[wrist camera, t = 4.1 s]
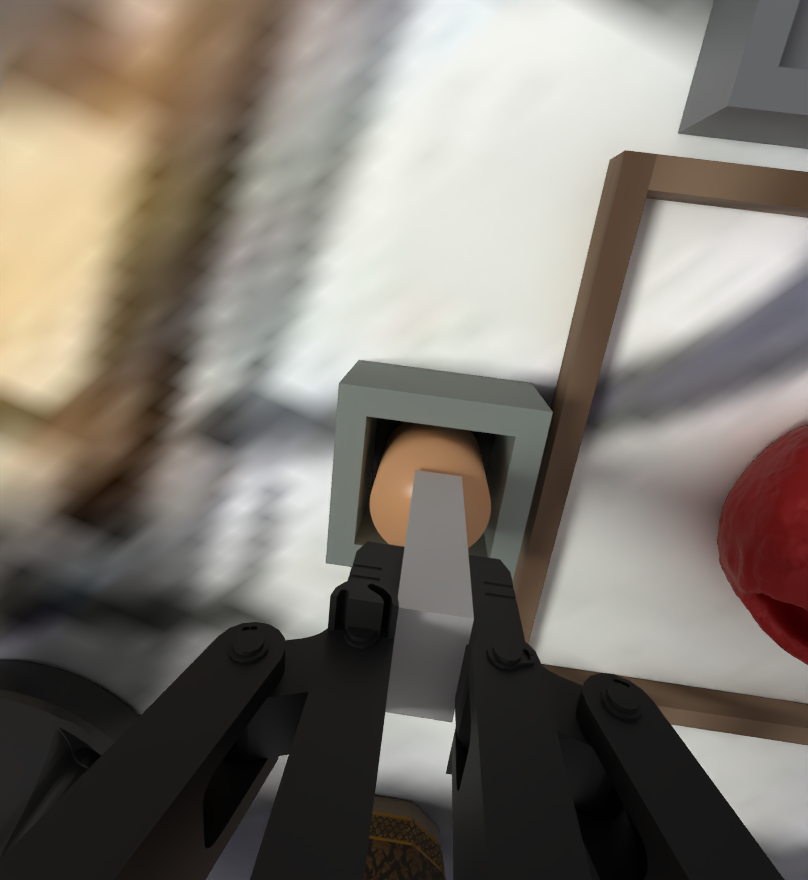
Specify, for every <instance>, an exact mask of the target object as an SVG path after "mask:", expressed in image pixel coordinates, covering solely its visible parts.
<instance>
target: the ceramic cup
mask: <svg viewBox="0 0 808 880" xmlns="http://www.w3.org/2000/svg"><path fill="white" fill-rule="evenodd" d="M364 880H446V878H445V871H444V863H443V855H442V849H441V840H440V832H439V830H438V827H437V826H436V825H435V824H434V823H433V822H432V821H431V820H430V819H429V818H428V817H427V816H426V815H425V814H424V813H423V812H422V811H421V810H420V809H419V808H418V807H417V806H416V805H415V804H414V803H412V802H410V801H405V800H399V799H393V798H387V797H381V796H374V804H373V812H372V820H371V828H370V836H369V844H368V851H367V859H366V867H365V875H364Z"/></svg>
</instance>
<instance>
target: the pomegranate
mask: <svg viewBox="0 0 808 880" xmlns="http://www.w3.org/2000/svg"><path fill="white" fill-rule="evenodd" d="M717 544H718V550H719V561H720V564H721V566H722V569H723V571H724V573H725V575H726V577H727V580H728V582H729V583H730V584H731V586H732V588H733V590H734V592H735V594H736V595H737V596H738V597H739V598H740V600H741V601H742V603H743V604H744V605H745V606H746V608H747V609H748V610H749V612H750V613H751V615H752V616H753V618H754V619H755V621H756V622H757V623H758V625H759V626H760V627H761V629H762V630H763V631H764V632H765V633H766V634H767V635H768V636H769V637H770V638H772V639H773V640H774V641H775V642H776V643H777V644H778V645H779V646H780V647H781V648H783V649H784V650H785V651H786V652H788V653H789V654H791V655H792V656H794V657H796V658H797V659H799V660H801V661H802V662H804V663H805V664H807V665H808V425H806V426H802V427H800V428H798V429H796V430H793V431H791V432H789V433H788V434H786V435H785V436H783V437H781V438H779V439H778V441H777V442H775V443H773V444H772V445H770V446H769V447H767V448H766V449H765V450H764V451H763V452H762V453H761V454H760V455H759V456H758V457H757V458H756V459H755V460H754V461H753V462H752V463H751V465H750V466H749V467H748V468H747V469H746V470H745V471H744V473H743V474H742V475H741V477H740V478H739V479H738V481H737V482H736V484H735V486H734V487H733V488H732V490H731V491H730V492H729V494H728V496H727V499H726V501H725V504H724V506H723V508H722V513H721V517H720V521H719V531H718V537H717Z"/></svg>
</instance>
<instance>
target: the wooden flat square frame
mask: <svg viewBox="0 0 808 880" xmlns="http://www.w3.org/2000/svg"><path fill="white" fill-rule="evenodd" d="M646 198H652V199H661V200H669V201H677V202H685V203H694V204H702V205H710V206H718V207H727V208H735V209H743V210H751V211H759V212H768V213H776V214H784V215H792V216H801V217H808V172H802V171H794V170H785V169H777V168H769V167H760V166H752V165H743V164H735V163H727V162H718V161H710V160H701V159H693V158H685V157H676V156H668V155H659V154H651V153H642V152H634V151H626V150H625V151H624V152H622V153H620V154H619V155H617V156H616V157H614V158H612V159H611V160H610V161H609V166H608V170H607V174H606V178H605V183H604V187H603V191H602V195H601V200H600V204H599V208H598V212H597V217H596V221H595V225H594V229H593V234H592V238H591V242H590V246H589V251H588V255H587V259H586V263H585V268H584V272H583V276H582V280H581V285H580V289H579V293H578V297H577V302H576V306H575V310H574V314H573V318H572V323H571V327H570V331H569V335H568V340H567V344H566V348H565V352H564V357H563V361H562V365H561V369H560V374H559V378H558V382H557V386H556V391H555V395H554V399H553V403H552V408H551V410H552V412H553V414H552V418H551V422H550V426H549V430H548V435H547V439H546V443H545V447H544V452H543V456H542V460H541V464H540V468H539V473H538V477H537V481H536V485H535V489H534V494H533V498H532V502H531V506H530V511H529V515H528V519H527V523H526V527H525V532H524V536H523V540H522V544H521V548H520V553H519V557H518V561H517V565H516V570H515V574H514V578H513V588H514V591H515V595H516V600H517V605H518V609H519V614H520V619H521V623H522V628H523V633H524V637H525V642H527V644H528V641H529V637H530V634H531V630H532V626H533V622H534V618H535V615H536V611H537V607H538V603H539V600H540V596H541V592H542V588H543V584H544V581H545V577H546V573H547V569H548V566H549V562H550V558H551V554H552V551H553V547H554V543H555V539H556V535H557V532H558V528H559V524H560V520H561V517H562V513H563V509H564V505H565V501H566V498H567V494H568V490H569V486H570V483H571V479H572V475H573V471H574V467H575V464H576V460H577V456H578V452H579V449H580V445H581V441H582V437H583V434H584V430H585V426H586V422H587V418H588V415H589V411H590V407H591V403H592V400H593V396H594V392H595V388H596V384H597V381H598V377H599V373H600V369H601V366H602V362H603V358H604V354H605V350H606V347H607V343H608V339H609V335H610V332H611V328H612V324H613V320H614V316H615V313H616V309H617V305H618V301H619V298H620V294H621V290H622V286H623V283H624V279H625V275H626V271H627V267H628V264H629V260H630V256H631V252H632V249H633V245H634V241H635V237H636V233H637V230H638V226H639V222H640V218H641V215H642V211H643V207H644V203H645V199H646ZM541 665H542V664H541ZM542 666H544V667H545V668H546V669H548V670H549V671H551V672H553V673H555V674H557V675H559V676H561V677H563V678H566V679H568V680H571V681H573V682H575V683H578V684H580V685H583V684H584V682H585V681H586V680H587V679H588V678H589V677H590V676H591V675H595V674H599V673H595V672H588V671H582V670H575V669H568V668H562V667H555V666H548V665H542ZM619 677H622V676H619ZM622 678H625V679H627V680H629V681H631V682H632V683H634V684H635V685H637V686H638V687H640V688H641V689H643V691H644V692H645V693H646V694H647V695H648V696H649V697H650V698H651V699H652V700H653V701H654V703H655V704H656V705H657V707H658V708H659V709H660V711H661V712H662V713H663V715H664V716H665V718H666V719H667V720H668V722H669V723H670V724H672V725H678V726H685V727H691V728H698V729H704V730H711V731H718V732H724V733H731V734H737V735H744V736H750V737H757V738H764V739H770V740H777V741H783V742H790V743H796V744H803V745H808V704H802V703H795V702H789V701H782V700H775V699H769V698H762V697H755V696H749V695H742V694H735V693H729V692H722V691H715V690H709V689H702V688H695V687H689V686H682V685H675V684H669V683H662V682H655V681H649V680H642V679H635V678H629V677H622Z"/></svg>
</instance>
